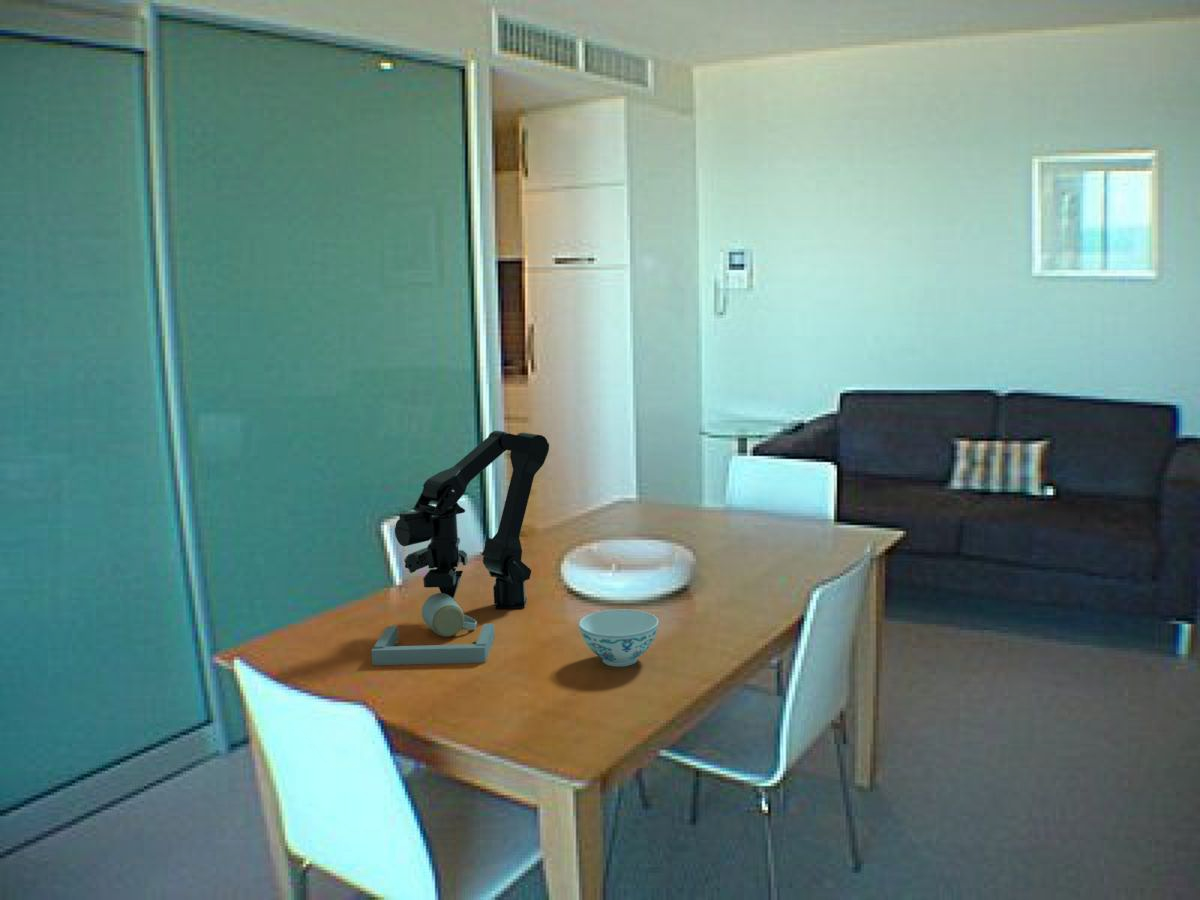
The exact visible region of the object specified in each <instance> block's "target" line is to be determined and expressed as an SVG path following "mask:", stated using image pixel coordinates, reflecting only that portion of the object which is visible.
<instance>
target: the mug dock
mask: <svg viewBox="0 0 1200 900" xmlns="http://www.w3.org/2000/svg"><path fill="white" fill-rule="evenodd" d="M495 638H496V633H495V623H484V624H483V626H482V629H481V631H480V634H479V635H478V638H477V640H476V642H475V644H473V643H472V644H470V643H469V644H438V645H434V644H432V645H431V644H430V645H428V644H427V645H398V646H396V645H397V643H398V642H399V628H398V625H388V626H387V627H386V628H385V630H384V631H383V633H382V634H381V635H380V637H379V638H378V640H377V641H376V643H375V644H374V646H373V647H372V649H371V663H372V666H395V665H396V666H397V665H398V666H399V664H401V665H402V664H403V665H404V666H405V665H430V664H431V665H434V664H435V665H436V664H468V663H469V664H472V663H473V664H477V663H478V664H481V663H487V662H486V661H487V660H488V657H489V654H490V651H491V649H492V647H493V644H494V641H495ZM397 641H398V642H397ZM396 642H397V643H396ZM492 643H493V644H492ZM395 644H396V645H395Z"/></svg>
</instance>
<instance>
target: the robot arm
mask: <svg viewBox="0 0 1200 900" xmlns="http://www.w3.org/2000/svg"><path fill="white" fill-rule="evenodd" d="M506 451H510V453H509V454H510V455H509V458H510V462H511V466H512V473H511V477H510V480H509V485H508V489H507V494H506V497H505V501H504V506H503V509H502V513H501V518H500V522H499V526H498V529H497V532H496V533H495V535H494V536H493V537H492V538H491V537H490V538H489V537H486V540H485V542H484V549H483V551H482V553H481V556H482V557H483V558H482V564H483V565H484V568H485V569H486V570H487V571H488V573H489V576H490V577H491V578H495V582H494V584H493V603H494V605H495V609H496V610H497V609H498V610H500V609H524V608H525V607H526V604H527V601H528V597H527V596H526V581H528V580H530V578H531V574H532V569H531V568H530V567H529V566H527V565H526V563H524V562H522V557H523V549H522V545H521V544H522V543H521V539H520V535H521V533H522V532H521V531H522V528H523V523H524V519H525V515H526V511H527V507H528V502H529V499H530V495H531V490H532V487H533V482H534V478H535V475H536V474H537V473H538V472H539V470H540V469H541V468H542V467H543V466H544V464H545V461H546V459H547V457H548V454H549V451H550V443H549V441H548V439H547V438H546V437H545V435H542V434H538V433H537V434H536V433H530V432H519V433H517V434H513V433H510V432H507V431H504V430H503V431H502V430H494V431H491V432H490V433H489V434H488V436H487V438H485V439H484V440H483V441H482V442H480V443H479V444H478V445H477V446H476V447H475V448H473V449H472V450H471V451H470V452H469V453H467V455H465V456H464V457H462V458H461V460H460V461H458V462H457V463H456V464H455V465H453V466H451V467H450V468H447V469H445V470H442V471H439V472H437V473H436V474H434V475H432V476H431V477H429V478H427V480H425V482H423V485H422V487H423V488H422V491H421V493H420V495H419V497H418V499H417V501H416V503H415V505H414V506H413V510H412V511H409V512H400V513H399V514H398V520H396V523H395V527H394V534H395V535H394V536H395V539H396V541H397V542H398V544H399V546H402V547H407V546H413V545H416V544H420V543H421V544H422V543H423V542H424V543H425V542H428V541H430V542H429V544H428V545H427V547H424V548H421V549H419V550H416V551H414V552H411V553H409V554H407V555H406V557H405V558H404V568H405V569H408V572H409V574H413V573H415V572H416V571H417V570H420V569H423V568H426V567H428V569H429V570H428V571H427V572H426V574H424V576H423V578H422V581H423V588H427V589H428V588H438V589H439V591H440V592H439V593H445V594H448V595H449V596H451V597H452V598H453V599H454V600H455V596H456V593H457V590H458V588H459V584H460V581H461V579H462V576H463V573H464V570H457V568H458V567H459V565H460V563H461V564H462V566H466V565H467V564H468V563H469V562H468V553H467V552H466V551H464V550H462V549H459V545H460V542H461V539H460V537H458V521H457V515H459V514H460V515H461V514H463V513H465V512H466V509H465V508H463V507H462V506H460V504H459V503H458V501H459V500H460V499H462V497H463V496H464V494H465V492H466V490H467V487H468V485H469V484H470V482H472V480H473V479H475V478H476V477H478V475H479V474H481V472H483V471H484V470H485V469H487V467H489V466H490V465H491V464H492V463H494V461H496V459H498V458H499V457H500V456H501V455H502V454H503V453H504V452H506ZM431 504H432V505H431ZM434 505H435V506H434Z"/></svg>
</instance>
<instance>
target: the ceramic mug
mask: <svg viewBox="0 0 1200 900" xmlns="http://www.w3.org/2000/svg"><path fill="white" fill-rule="evenodd" d="M421 617H422V620H423V622H424V623H425V624H426V625H427V627H429V628H430V629H431V630H432V632H434V633H435V634H437V636H440V637H443V638H449V637H454V636H456V635H457V634H458V633H460V632H461V631H462V629H464V630H469V631H474V630H475V629H476V627H477V625H478V622H477V620H476V619H474V618H472V617H471V616H469V615H466V614H465V613H464V612H463V609H462V608H461V606H460V605H459V604H458V603H457V602H456V600H455V598H454V599H453V598H452V597H451V596H449V595H448V594H445V593H441V592H437V593H434V594H432V595H430V596H428V597H427V599H426V600H425V601H424V603H423V605H422V608H421Z"/></svg>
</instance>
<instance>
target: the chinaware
mask: <svg viewBox="0 0 1200 900" xmlns="http://www.w3.org/2000/svg"><path fill="white" fill-rule="evenodd" d="M578 624H579V630H580V633H581V636H582V639H583V641H584V642H585V645H586V646H587V647H588V649H590V651H591V652H593V654H595V655H596V656H597V657H599V658H601V659H602V662H603V663H604V664H605V665H607V666H610V667H627V666H631V665H634V664H635V663H637V662H638V658H639V657H641V656H642V655H643V654H644V653H645V652H646V651H647V650H648V649H649V648H650V646H651V645H652V644H653V642H654V640H655V637H656V635H657V631H658V627H659V619H658V617H656V616H655V615H653V613H649V612H646V611H642V610H638V609H627V608H624V609H622V608H621V609H608V610H607V609H606V610H600V611H596V612H593V613H590V614H588V615H585V616H584V617H582V618H581V619H580V620H579V623H578Z"/></svg>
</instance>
